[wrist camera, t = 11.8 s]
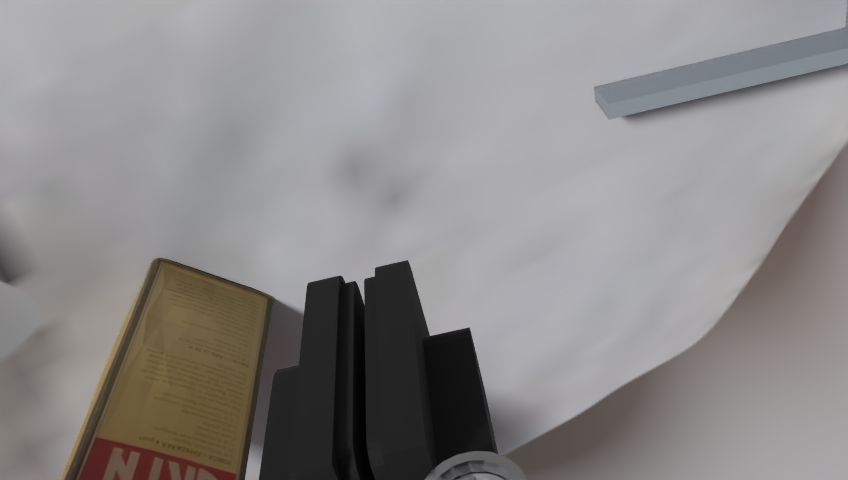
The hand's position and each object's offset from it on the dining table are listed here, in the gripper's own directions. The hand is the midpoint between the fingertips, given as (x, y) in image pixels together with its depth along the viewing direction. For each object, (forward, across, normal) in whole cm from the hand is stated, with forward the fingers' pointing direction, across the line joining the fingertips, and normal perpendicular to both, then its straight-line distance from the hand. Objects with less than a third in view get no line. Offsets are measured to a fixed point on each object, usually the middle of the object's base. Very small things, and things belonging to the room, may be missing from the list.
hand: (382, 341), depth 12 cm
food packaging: (+35, +20, +24) cm, 47 cm away
